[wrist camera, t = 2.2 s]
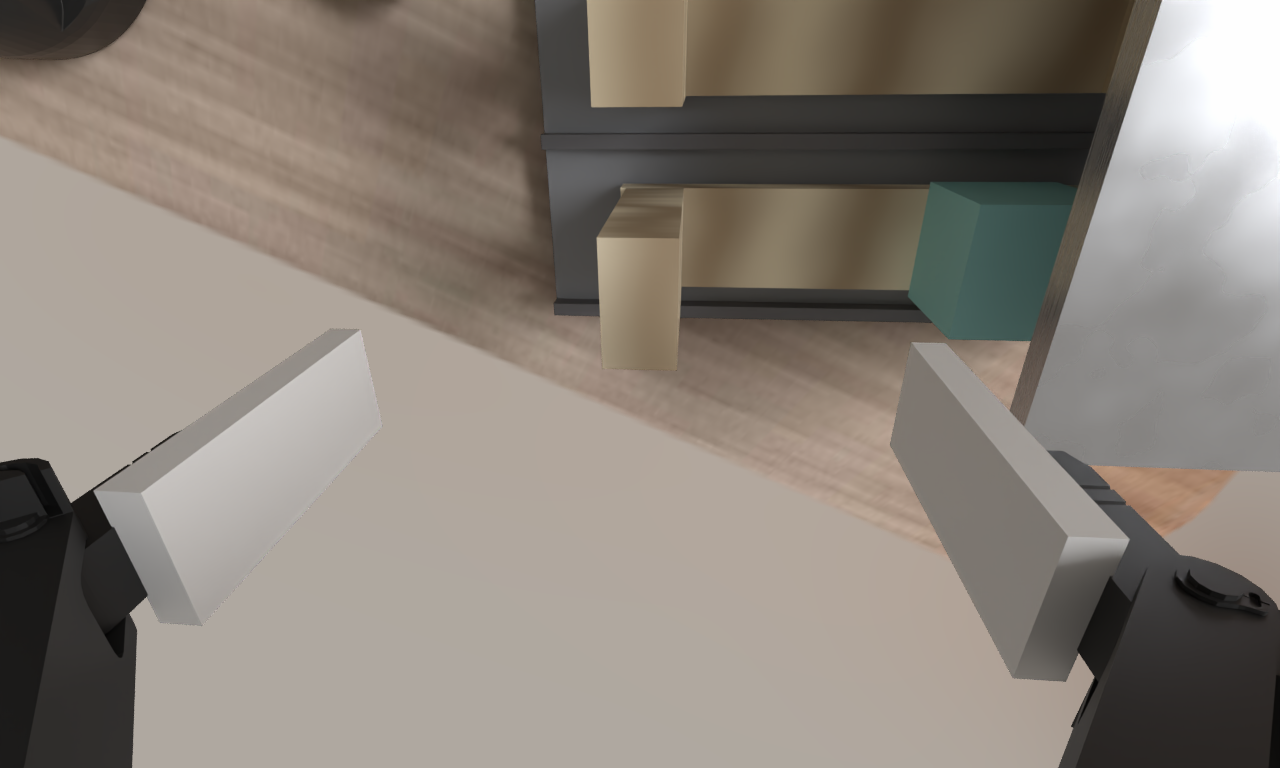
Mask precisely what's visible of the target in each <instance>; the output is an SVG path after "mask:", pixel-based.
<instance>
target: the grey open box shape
mask: <svg viewBox="0 0 1280 768" xmlns="http://www.w3.org/2000/svg"><path fill="white" fill-rule="evenodd" d="M1010 412H1011V413H1012V414H1013V415H1014V416H1015V418H1016V419H1017V420H1018V421H1019V422H1020V423H1021V424H1022V425H1023V426H1024V427H1025V428H1026V429H1027V430H1028V431H1029V432H1030V434H1031V435H1032V436H1033V437H1034V438H1035V439H1036V440H1037V441H1038V442H1039V443H1040V444H1041V445H1042V446H1043V447H1044V448H1045V449H1046V450H1052V451H1064V452H1066V453H1067V454H1069V455H1071V456H1073V457H1074V458H1076V459H1078V460H1079V461H1081V462H1083V463H1085V464H1086V465H1097V466H1125V467H1153V468H1181V469H1209V470H1237V471H1265V472H1280V0H1135V2H1134V6H1133V9H1132V12H1131V15H1130V19H1129V22H1128V25H1127V28H1126V32H1125V35H1124V38H1123V42H1122V45H1121V48H1120V51H1119V55H1118V58H1117V61H1116V64H1115V68H1114V71H1113V74H1112V78H1111V81H1110V84H1109V87H1108V91H1107V94H1106V97H1105V100H1104V104H1103V107H1102V110H1101V113H1100V117H1099V120H1098V123H1097V127H1096V130H1095V133H1094V136H1093V140H1092V143H1091V146H1090V149H1089V153H1088V156H1087V159H1086V163H1085V166H1084V169H1083V172H1082V176H1081V179H1080V182H1079V185H1078V189H1077V192H1076V195H1075V199H1074V202H1073V205H1072V208H1071V212H1070V215H1069V218H1068V221H1067V225H1066V228H1065V231H1064V234H1063V238H1062V241H1061V244H1060V248H1059V251H1058V254H1057V257H1056V261H1055V264H1054V267H1053V270H1052V274H1051V277H1050V280H1049V284H1048V287H1047V290H1046V293H1045V297H1044V300H1043V303H1042V306H1041V310H1040V313H1039V316H1038V319H1037V323H1036V326H1035V329H1034V333H1033V336H1032V339H1031V342H1030V346H1029V349H1028V352H1027V355H1026V359H1025V362H1024V365H1023V369H1022V372H1021V375H1020V378H1019V382H1018V385H1017V388H1016V391H1015V395H1014V398H1013V401H1012V405H1011V408H1010Z"/></svg>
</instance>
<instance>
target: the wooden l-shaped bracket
mask: <svg viewBox="0 0 1280 768" xmlns="http://www.w3.org/2000/svg"><path fill="white" fill-rule="evenodd" d="M1068 186H1071V187H1074V188H1078V185H1068ZM929 187H930V185H900V184H623V185H622V186H621V188H620V193H621V197H620V199H619V201H618V203H617V204H616V206H615V208H614V209H613V211H612V213H611V214H610V216H609V218H608V219H607V221H606V223H605V224H604V226H603V228H602V230H601V231H600V233H599V235H598V236H597V258H598V282H599V306H600V331H601V355H602V369H632V370H670V371H677V356H678V339H679V322H680V305H681V288H682V287H739V288H802V289H865V290H909V288H910V283H911V278H912V273H913V268H914V263H915V258H916V253H917V248H918V243H919V238H920V233H921V228H922V223H923V218H924V213H925V207H926V202H927V197H928V192H929Z"/></svg>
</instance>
